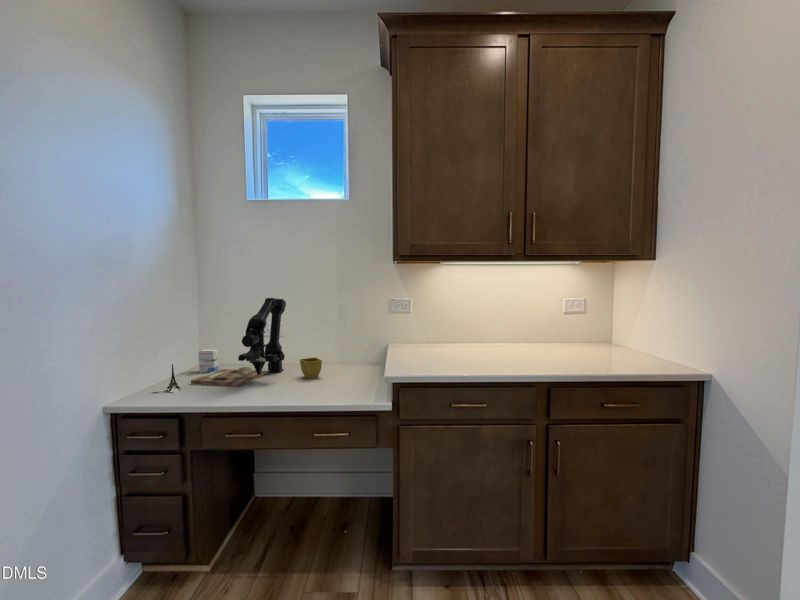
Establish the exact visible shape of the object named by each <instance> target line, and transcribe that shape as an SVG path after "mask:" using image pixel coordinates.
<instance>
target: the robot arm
mask: <svg viewBox="0 0 800 600" xmlns="http://www.w3.org/2000/svg"><path fill="white" fill-rule="evenodd" d="M286 306H287V303H286V300H284V299H283V298H275V297H266V298H265V299H264V303H263V304H262V306H261V307H260V309H259V310H258V312H257V313H256V314H255V315H252V316H251V318H249V320H248V323H247V326H246V328H245V335H244V336H242V339H241V343H242V345H243V346H244V347H245V348H249V350H248V351H247V352H244V353H241V354H239V355H238V357H237V358H238V360H237V361H241V362H243V361H246V362H249V364H251V365H253V367H254V369H255V370H256V372H257V374H258V375H260V374H261V371H263V369H264V366H265V365H266V362H267V370H266V371H267V373H275V372H278V373H281V372H283V371H284V368H283V361H285V353H284V352H283V350H282V344H281V343H280V334H281V332H280V331H281V322H282V315H283V313H284V312H285V311H286V310H285V309H286ZM270 314H271V320H270V321H271V322H270V323H271V324H270V334H269V342H268V343H266V344H265V333H266V330H265V329H266V327H267V324H268V323H267V319H268V317H269V315H270Z"/></svg>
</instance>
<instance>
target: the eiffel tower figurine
mask: <svg viewBox="0 0 800 600" xmlns="http://www.w3.org/2000/svg"><path fill="white" fill-rule="evenodd" d="M172 388H178V389H181V388H180V386H179V385H178V382H177V381H176V378H175V373H174V364H173V363H171V378H170V382H169V383H168V386H167V387H166V389H169V391H171V389H172Z"/></svg>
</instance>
